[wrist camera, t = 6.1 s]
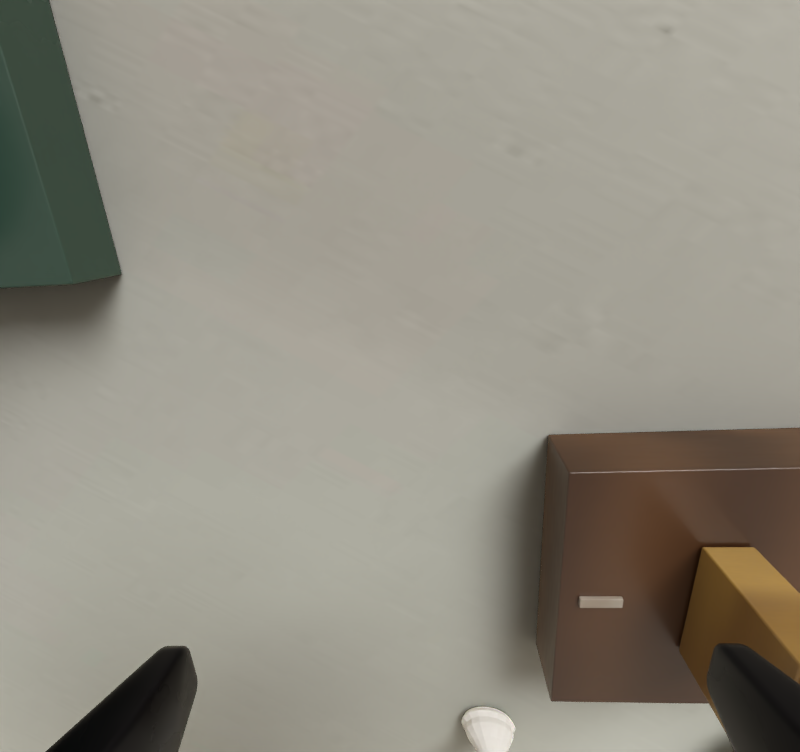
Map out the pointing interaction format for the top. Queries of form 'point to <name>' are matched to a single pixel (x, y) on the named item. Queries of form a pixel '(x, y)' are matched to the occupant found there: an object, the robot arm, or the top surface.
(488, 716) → the chess pawn
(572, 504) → the lock plate
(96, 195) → the box
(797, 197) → the top surface
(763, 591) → the red-tipped wooden block
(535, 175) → the top surface
